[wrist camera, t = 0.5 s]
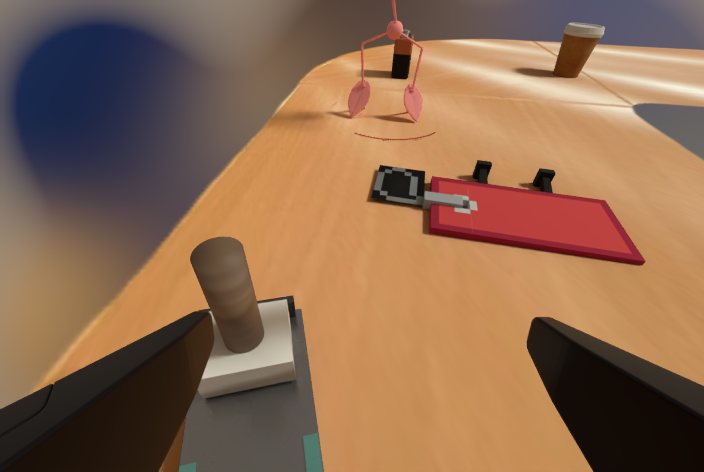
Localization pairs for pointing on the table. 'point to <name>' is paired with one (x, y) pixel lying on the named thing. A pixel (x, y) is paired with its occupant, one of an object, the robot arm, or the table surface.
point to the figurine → (362, 88)
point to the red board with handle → (512, 213)
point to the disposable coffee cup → (576, 48)
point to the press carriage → (240, 324)
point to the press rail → (257, 422)
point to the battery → (402, 56)
